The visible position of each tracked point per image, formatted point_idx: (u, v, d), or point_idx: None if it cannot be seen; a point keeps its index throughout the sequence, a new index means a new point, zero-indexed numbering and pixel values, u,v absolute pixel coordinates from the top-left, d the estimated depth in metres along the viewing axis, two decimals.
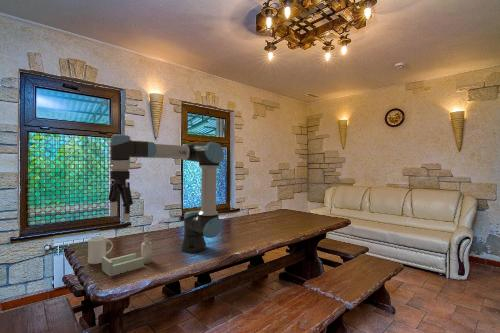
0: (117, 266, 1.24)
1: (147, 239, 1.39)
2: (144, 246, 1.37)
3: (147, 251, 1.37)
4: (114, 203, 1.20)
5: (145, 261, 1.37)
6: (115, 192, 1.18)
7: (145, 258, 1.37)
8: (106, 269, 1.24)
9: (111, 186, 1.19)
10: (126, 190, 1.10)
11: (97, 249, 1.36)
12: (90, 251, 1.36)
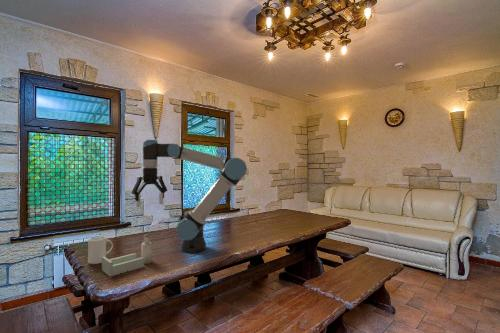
0: (117, 266, 1.24)
1: (147, 239, 1.39)
2: (144, 246, 1.37)
3: (147, 251, 1.37)
4: (160, 194, 1.53)
5: (145, 261, 1.37)
6: (155, 185, 1.51)
7: (145, 258, 1.37)
8: (106, 269, 1.24)
9: None
10: (136, 183, 1.42)
11: (97, 249, 1.36)
12: (90, 251, 1.36)
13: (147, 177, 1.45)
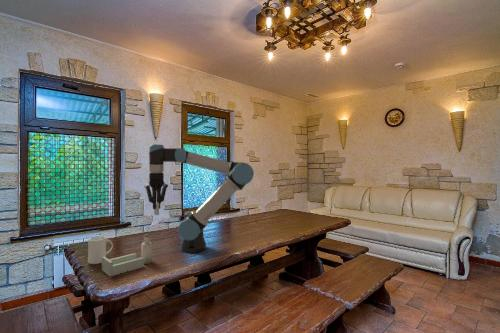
0: (117, 266, 1.24)
1: (147, 239, 1.39)
2: (144, 246, 1.37)
3: (147, 251, 1.37)
4: None
5: (145, 261, 1.37)
6: (157, 191, 1.47)
7: (145, 258, 1.37)
8: (106, 269, 1.24)
9: None
10: (147, 192, 1.43)
11: (97, 249, 1.36)
12: (90, 251, 1.36)
13: (152, 181, 1.44)
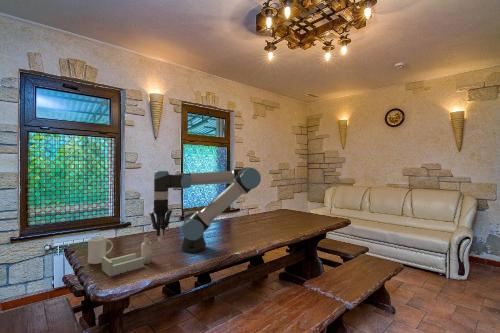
0: (117, 266, 1.24)
1: (147, 239, 1.39)
2: (144, 246, 1.37)
3: (147, 251, 1.37)
4: None
5: (145, 261, 1.37)
6: (161, 217, 1.46)
7: (145, 258, 1.37)
8: (106, 269, 1.24)
9: (167, 214, 1.49)
10: (151, 219, 1.42)
11: (97, 249, 1.36)
12: (90, 251, 1.36)
13: (157, 208, 1.42)
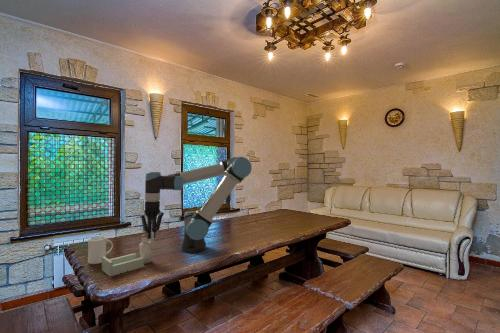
0: (117, 266, 1.24)
1: (145, 239, 1.38)
2: (142, 246, 1.36)
3: (146, 251, 1.37)
4: None
5: (144, 261, 1.37)
6: (152, 220, 1.42)
7: (144, 258, 1.37)
8: (106, 269, 1.24)
9: None
10: (142, 221, 1.38)
11: (97, 249, 1.36)
12: (90, 251, 1.36)
13: (148, 210, 1.39)
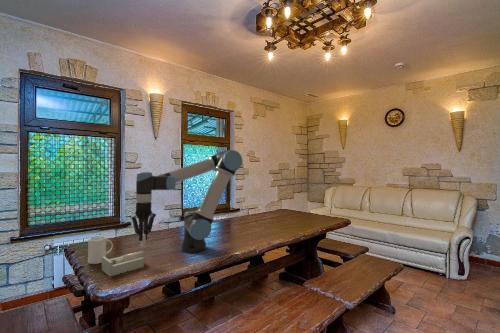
0: (117, 266, 1.24)
1: (119, 262, 1.28)
2: None
3: None
4: None
5: None
6: (144, 221, 1.39)
7: None
8: (106, 269, 1.24)
9: None
10: (133, 223, 1.35)
11: (97, 249, 1.36)
12: (90, 251, 1.36)
13: (139, 212, 1.35)
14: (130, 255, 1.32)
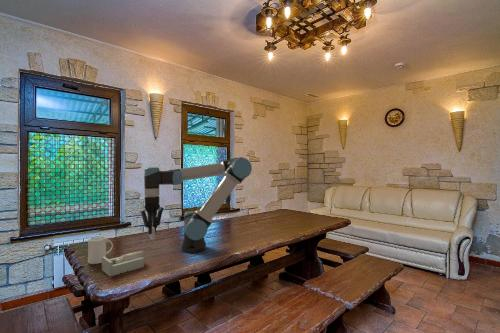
0: (117, 266, 1.24)
1: (118, 262, 1.29)
2: None
3: None
4: None
5: None
6: (152, 215, 1.43)
7: None
8: (106, 269, 1.24)
9: None
10: (143, 217, 1.39)
11: (97, 249, 1.36)
12: (90, 251, 1.36)
13: (148, 206, 1.39)
14: (129, 254, 1.33)
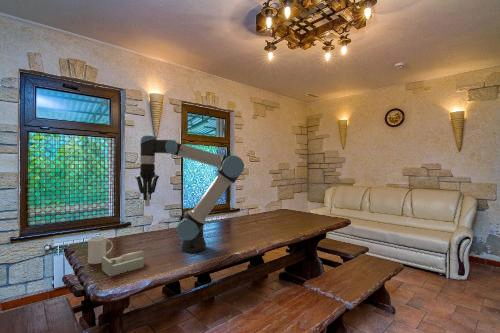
0: (117, 266, 1.24)
1: (118, 261, 1.29)
2: None
3: None
4: None
5: None
6: (148, 182, 1.48)
7: None
8: (106, 269, 1.24)
9: None
10: (138, 183, 1.44)
11: (97, 249, 1.36)
12: (90, 251, 1.36)
13: (143, 172, 1.44)
14: (129, 254, 1.33)
